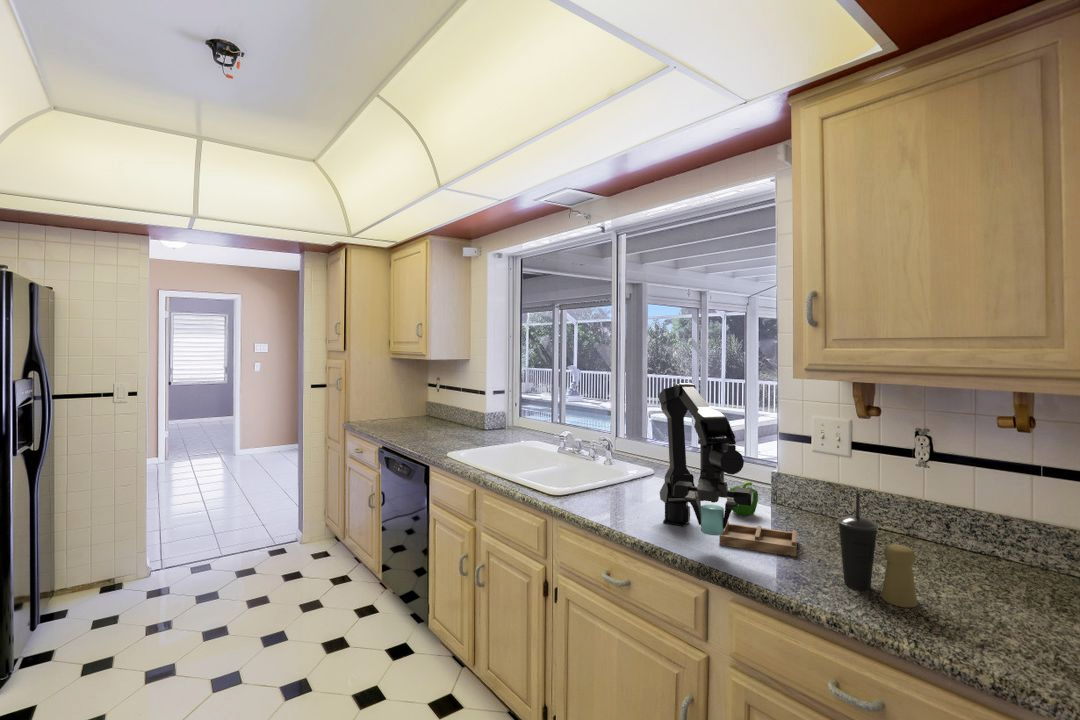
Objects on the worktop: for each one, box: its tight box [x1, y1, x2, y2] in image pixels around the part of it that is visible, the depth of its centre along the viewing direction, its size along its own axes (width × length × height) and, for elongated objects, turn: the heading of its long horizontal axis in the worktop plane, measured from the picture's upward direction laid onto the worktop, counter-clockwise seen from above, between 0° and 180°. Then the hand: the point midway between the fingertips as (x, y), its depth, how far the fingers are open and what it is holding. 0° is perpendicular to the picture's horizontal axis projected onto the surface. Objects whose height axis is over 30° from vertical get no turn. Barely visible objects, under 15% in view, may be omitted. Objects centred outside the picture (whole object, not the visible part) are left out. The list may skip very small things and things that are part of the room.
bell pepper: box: [729, 481, 759, 517], centre depth 160 cm, size 8×8×10 cm
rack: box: [719, 520, 798, 557], centre depth 136 cm, size 18×11×3 cm, turn 63°
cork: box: [881, 543, 918, 608], centre depth 105 cm, size 6×6×11 cm
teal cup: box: [700, 504, 725, 536], centre depth 130 cm, size 6×6×6 cm
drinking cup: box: [837, 492, 880, 591], centre depth 112 cm, size 8×8×20 cm
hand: (712, 526), depth 130 cm, fingers closed on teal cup, 5 cm apart
